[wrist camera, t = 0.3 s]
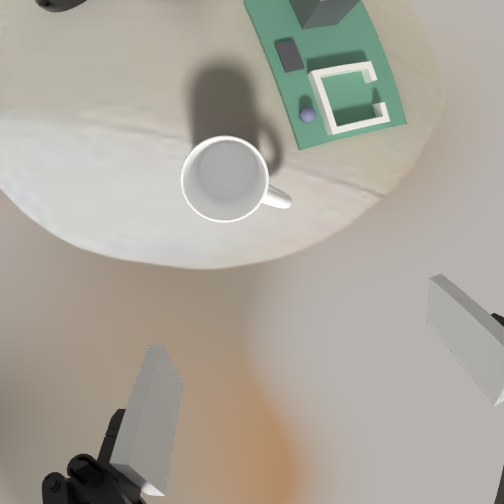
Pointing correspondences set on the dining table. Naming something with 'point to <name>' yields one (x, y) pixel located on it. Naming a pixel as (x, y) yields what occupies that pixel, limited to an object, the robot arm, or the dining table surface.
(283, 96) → the board
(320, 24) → the plug
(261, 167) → the mug
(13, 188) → the dining table surface
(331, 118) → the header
